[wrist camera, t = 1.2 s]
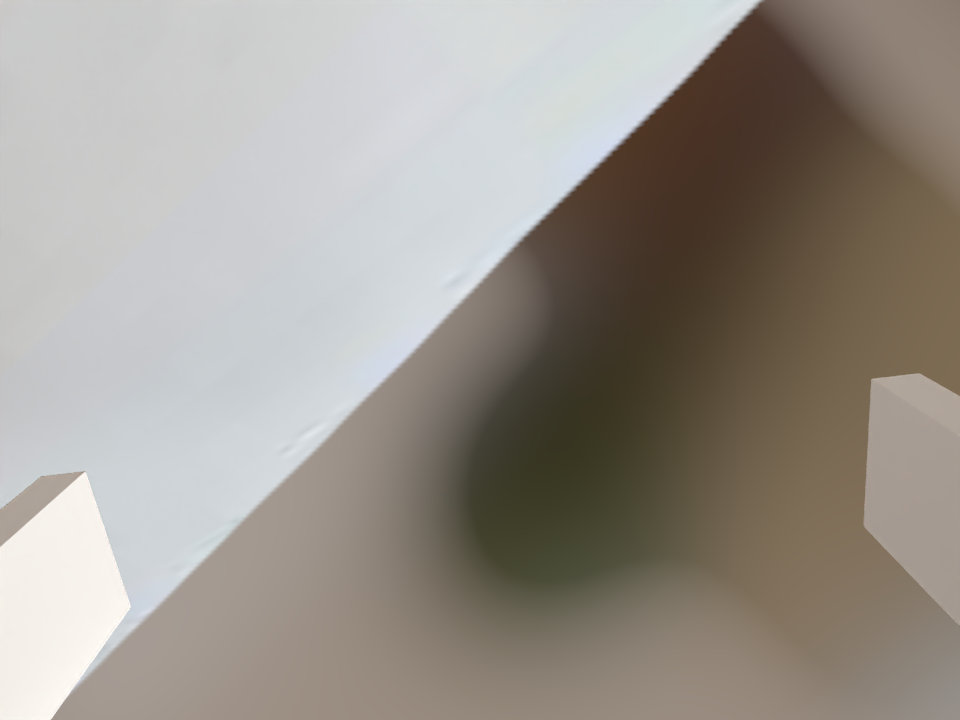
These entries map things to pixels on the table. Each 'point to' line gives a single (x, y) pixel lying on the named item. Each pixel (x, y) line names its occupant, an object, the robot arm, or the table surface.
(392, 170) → the table surface
